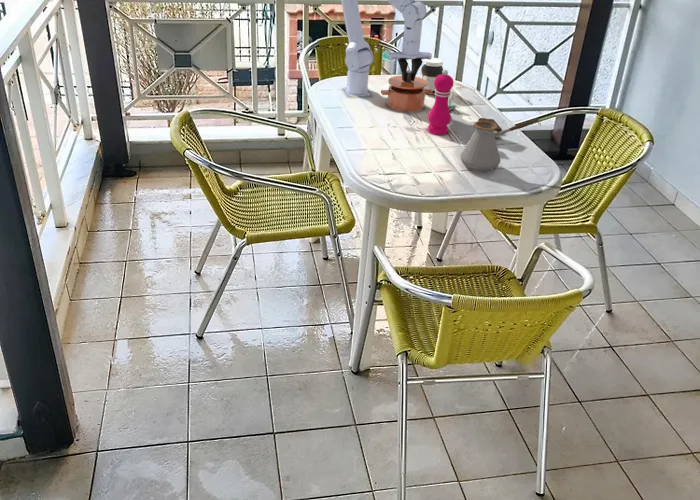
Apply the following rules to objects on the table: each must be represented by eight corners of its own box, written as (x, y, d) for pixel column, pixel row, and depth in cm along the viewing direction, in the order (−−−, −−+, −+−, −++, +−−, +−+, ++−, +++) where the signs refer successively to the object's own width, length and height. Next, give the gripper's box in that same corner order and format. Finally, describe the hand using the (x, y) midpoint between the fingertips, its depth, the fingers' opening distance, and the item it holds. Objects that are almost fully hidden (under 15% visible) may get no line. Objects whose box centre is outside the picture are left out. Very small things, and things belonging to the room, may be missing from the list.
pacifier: (442, 112, 234) (458, 111, 235) (443, 95, 230) (459, 94, 232) (434, 105, 240) (450, 104, 241) (435, 88, 236) (451, 87, 238)
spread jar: (416, 87, 257) (419, 56, 251) (445, 86, 259) (449, 56, 253) (425, 97, 247) (428, 65, 241) (454, 97, 249) (459, 65, 243)
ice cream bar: (505, 139, 215) (491, 122, 227) (506, 134, 214) (492, 118, 226) (490, 139, 214) (476, 122, 227) (490, 134, 213) (477, 117, 226)
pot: (376, 101, 240) (377, 83, 237) (424, 100, 244) (426, 82, 241) (385, 113, 230) (386, 95, 227) (435, 112, 234) (437, 94, 230)
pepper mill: (448, 136, 214) (456, 74, 204) (425, 133, 215) (432, 71, 205) (449, 128, 220) (457, 67, 210) (427, 126, 221) (434, 65, 211)
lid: (383, 79, 237) (384, 66, 235) (420, 78, 240) (422, 65, 238) (393, 91, 226) (394, 77, 224) (432, 90, 229) (434, 77, 226)
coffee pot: (463, 175, 189) (471, 124, 182) (455, 158, 199) (461, 110, 191) (537, 176, 191) (548, 125, 184) (525, 159, 201) (534, 111, 194)
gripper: (394, 43, 220) (390, 84, 227) (436, 43, 223) (431, 83, 230) (388, 37, 226) (385, 77, 233) (429, 37, 229) (425, 77, 236)
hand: (408, 80), depth 232 cm, fingers closed on lid, 2 cm apart
